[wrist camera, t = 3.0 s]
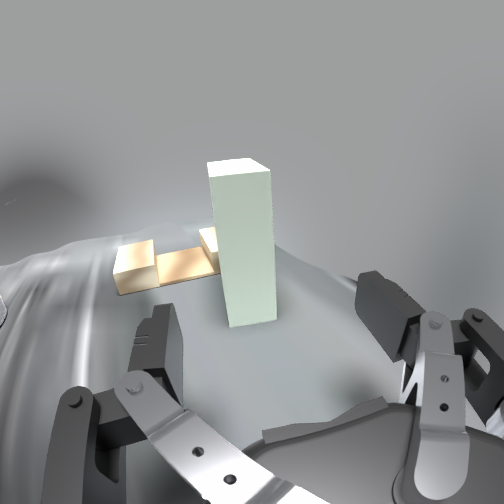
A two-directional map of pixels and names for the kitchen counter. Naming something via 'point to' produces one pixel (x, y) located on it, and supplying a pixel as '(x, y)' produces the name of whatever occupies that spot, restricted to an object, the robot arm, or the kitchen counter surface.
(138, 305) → the kitchen counter surface
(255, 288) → the tall mint green pillar
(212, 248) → the slot board
